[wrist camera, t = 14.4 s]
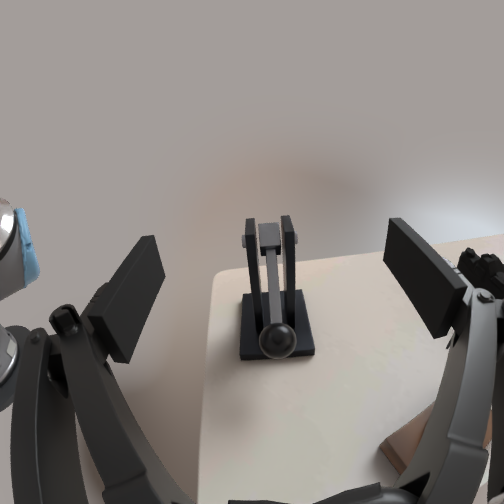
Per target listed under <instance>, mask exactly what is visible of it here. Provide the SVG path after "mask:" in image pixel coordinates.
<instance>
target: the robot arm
mask: <svg viewBox="0 0 504 504" xmlns="http://www.w3.org/2000/svg"><path fill="white" fill-rule="evenodd" d="M383 261H384V262H385V264H386V265H387V267H388V268H389V269H390V271H391V272H392V274H393V275H394V277H395V278H396V280H397V281H398V283H399V284H400V286H401V287H402V288H403V290H404V292H405V293H406V295H407V296H408V298H409V299H410V301H411V302H412V304H413V305H414V307H415V309H416V310H417V312H418V313H419V315H420V317H421V318H422V320H423V322H424V323H425V325H426V327H427V328H428V330H429V332H430V333H431V335H432V337H433V339H436V338H440V337H443V336H446V335H447V333H448V331H449V329H450V327H451V326H452V327H453V329H454V330H455V332H454V334H453V336H452V338H451V339H450V341H449V343H448V345H447V347H446V349H448V348H449V346H450V349H449V353H448V358H447V362H446V366H445V370H444V374H443V377H442V381H441V385H440V388H439V391H438V394H437V398H436V401H435V404H434V407H433V410H432V412H431V415H430V418H429V421H428V423H427V426H426V428H425V431H424V433H423V436H422V438H421V440H420V443H419V445H418V447H417V449H416V452H415V454H414V456H413V458H412V460H411V462H410V464H409V466H408V467H407V469H406V470H405V471H404V472H403V473H402V474H401V476H400V477H399V479H398V480H397V481H396V483H395V485H394V486H393V487H381V485H380V482H378V483H375V484H371V485H368V486H364V487H360V488H355V489H351V490H347V491H344V492H341V493H339V494H337V495H334V496H332V497H329V498H327V499H324V500H322V501H319V502H316V503H313V504H472V503H473V501H474V498H475V496H476V493H477V491H478V488H479V486H480V483H481V480H482V477H483V474H484V471H485V468H486V465H487V461H488V456H489V454H488V450H486V449H484V448H483V442H484V438H485V434H486V430H487V425H488V420H489V415H490V410H491V404H492V446H491V459H490V469H489V478H488V492H487V502H488V504H504V299H503V300H500V299H495V297H494V296H493V295H492V294H491V293H490V292H489V291H487V290H485V289H482V288H476V289H475V288H474V287H473V286H472V284H471V283H470V282H469V281H468V280H467V279H466V278H465V277H464V275H463V274H461V272H460V271H459V270H458V269H456V267H455V266H454V265H453V264H452V263H451V262H450V261H449V260H447V259H445V258H444V257H441V256H440V255H439V254H438V253H437V252H436V251H435V250H434V249H433V248H432V247H431V246H430V245H429V244H428V243H427V242H426V241H425V240H424V239H423V238H422V237H421V236H420V235H419V234H417V232H415V231H414V230H413V229H412V228H411V227H410V226H409V225H408V224H407V223H406V222H405V221H404V220H402V219H401V218H390V219H389V225H388V233H387V239H386V246H385V252H384V257H383ZM39 273H40V269H39V265H38V261H37V258H36V255H35V251H34V247H33V243H32V240H31V236H30V232H29V228H28V224H27V220H26V215H25V212H24V210H23V209H22V208H19V209H14V211H13V209H12V207H11V205H10V204H9V203H8V201H6V200H4V199H2V198H0V301H1V300H3V299H4V298H6V297H8V296H10V295H12V294H13V293H15V292H17V291H19V290H21V289H23V288H26V286H27V285H28V284H30V283H31V282H33V281H35V280H36V279H37V278H38V276H39ZM164 279H165V273H164V269H163V266H162V262H161V259H160V255H159V252H158V248H157V245H156V241H155V237H154V235H150V236H142V237H141V238H140V240H139V241H138V242H137V244H136V245H135V246H134V247H133V249H132V250H131V252H130V253H129V255H128V256H127V257H126V258H125V260H124V261H123V262H122V264H121V265H120V267H119V268H118V269H117V271H116V272H115V274H114V275H113V277H112V278H111V280H110V281H109V282H108V283H105V284H104V285H102V286H101V287H100V288H99V289H98V290H97V291H96V293H95V294H94V297H92V299H91V300H90V303H88V305H87V306H86V308H85V310H84V311H83V312H82V314H81V315H80V317H79V315H78V313H77V311H76V309H75V307H74V306H73V305H71V304H65V305H63V306H60V307H59V308H57V309H56V310H54V311H53V312H52V314H51V315H50V317H49V322H50V323H51V325H52V327H53V329H54V330H55V332H56V333H57V334H55V335H50V336H49V335H48V334H47V332H46V331H45V330H44V328H36V329H34V330H32V331H31V332H29V334H28V335H27V337H26V339H25V341H24V345H23V350H22V354H21V359H20V363H19V368H18V374H17V379H16V386H15V393H14V400H13V409H12V421H11V422H12V423H11V445H10V446H11V447H10V449H11V452H10V454H11V477H12V488H13V497H14V504H88V499H87V495H86V491H85V486H84V482H83V476H82V472H81V465H80V459H79V452H78V444H77V435H76V424H75V412H76V415H77V419H78V422H79V424H80V427H81V430H82V433H83V436H84V439H85V441H86V444H87V447H88V449H89V451H90V454H91V456H92V459H93V461H94V463H95V466H96V468H97V470H98V472H99V474H100V476H101V478H102V481H103V482H104V485H105V490H104V491H103V492H102V497H103V500H104V502H105V504H195V503H194V501H193V500H192V499H191V498H190V497H189V496H188V495H187V494H185V493H184V492H183V491H182V490H181V488H180V487H179V486H178V485H177V484H176V482H175V481H174V479H173V478H172V477H171V475H170V474H169V473H168V471H167V470H166V468H165V467H164V465H163V464H162V462H161V461H160V460H159V458H158V456H157V455H156V453H155V452H154V450H153V449H152V447H151V445H150V444H149V442H148V440H147V439H146V437H145V435H144V434H143V432H142V430H141V428H140V427H139V425H138V423H137V421H136V420H135V418H134V416H133V414H132V412H131V410H130V408H129V406H128V404H127V402H126V400H125V398H124V397H123V395H122V392H121V390H120V388H119V386H118V384H117V382H116V379H115V377H114V375H113V373H112V370H111V368H110V366H109V364H108V362H107V361H106V359H107V357H108V354H110V356H111V358H112V359H113V361H114V362H117V363H126V364H129V362H130V360H131V357H132V355H133V352H134V349H135V347H136V344H137V342H138V339H139V337H140V334H141V332H142V329H143V327H144V325H145V322H146V320H147V317H148V315H149V313H150V310H151V308H152V306H153V303H154V301H155V299H156V296H157V294H158V292H159V290H160V288H161V285H162V283H163V281H164ZM19 354H20V348H19V344H18V342H17V341H16V339H15V338H14V337H13V335H12V334H11V333H10V332H9V331H7V330H6V329H5V328H4V327H2V326H1V325H0V388H1V387H2V386H3V385H4V384H5V383H6V382H7V381H8V379H9V378H10V377H11V375H12V373H13V372H14V370H15V368H16V365H17V363H18V359H19ZM228 504H288V503H280V502H274V501H268V500H258V501H243V500H228Z"/></svg>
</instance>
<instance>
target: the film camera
mask: <svg viewBox="0 0 504 504" xmlns="http://www.w3.org/2000/svg"><path fill="white" fill-rule="evenodd" d="M457 269H458V270H459V271H460V272H461V274H463V275H464V277H465V278H466V279H467V280H468V281H469V282H470V283H471V284H472V286H473V287H474V288H475V289H476V288H482V289H485V290H487V291H489V292H490V293H491V294H492V295H493V296H494V297H495V299H500V300H503V299H504V264H502V262H501V261H500V259H499V258H498V257H497V256H495V255H494V254H491V255H489V254H488V253H487V254H483V255H481V258H480V257H479V256H478V255H477V254H475V251H474V250H473V249H471V248H467V249H466V250H465V251H464V252H462V253H461V256H460V257H459V262H458V265H457Z"/></svg>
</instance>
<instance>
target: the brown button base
mask: <svg viewBox="0 0 504 504" xmlns="http://www.w3.org/2000/svg"><path fill="white" fill-rule="evenodd" d="M435 401H436V400H435ZM435 401H434V402H433V403H432V404H431V405H430V406H428V407H427V408H426V409H425V410H424V411H422V412H421V413H420V414H419V415H417V416H416V417H415V418H414V419H412V420H411V421H410V422H408V423H407V424H406V425H404V426H403V427H402V428H400V429H399V430H397V431H396V432H395V433H393V434H392V435H390V436H389V437H387V438H386V439H385V440H384V441H383V442H382V443H381V444H380V446H379V447H380V448H381V450H382V451H383V452H384V454H385V455H386V456H387V458H388V459H389V460H390V462H391V463H392V464H393V466H394V467H395V469H396V470H397V471H398V473H399V474H400V475H401V474H402V473H403V472H404V471H405V470H406V469H407V467H408V466H409V464H410V462H411V460H412V458H413V456H414V454H415V452H416V449H417V447H418V445H419V443H420V440H421V438H422V436H423V433H424V431H425V428H426V426H427V423H428V421H429V418H430V415H431V412H432V410H433V407H434V404H435ZM491 439H492V410H490V415H489V420H488V425H487V430H486V434H485V438H484V442H483V448H485V447H486V446H487V444H488V443H489V442H490V441H491Z"/></svg>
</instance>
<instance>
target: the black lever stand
mask: <svg viewBox="0 0 504 504" xmlns="http://www.w3.org/2000/svg"><path fill="white" fill-rule="evenodd" d="M245 226H246V227H245V235H242V246H243V248H246V249H247V259H248V267H249V276H250V284H251V293H249V294H243V299H242V317H241V336H240V359H241V360H261V359H273V358H270V357H268V356H266V355H265V354H264V353H263V352H262V350H261V348H260V345H259V337H260V334H261V332H262V330H263V329H264V328H265V327H266V326H268V325H269V324H271V318H270V304H269V292H263V293H262V292H261V281H260V270H259V259H258V249H257V238H256V228H255V219H254V218H251V219H246V225H245ZM281 228H282V249H283V275H284V291H280V300H281V313H282V323H284V324H287V325H288V326H290V327H291V328H292V329H293V331H294V332H295V334H296V346H295V349H294V350H293V352H292V353H291V354H290V355H289V356H287V357H285V358H288V357H299V356H308V355H314V354H315V346H314V342H313V337H312V332H311V328H310V323H309V319H308V314H307V310H306V305H305V301H304V297H303V292H302V289H300V290H295V244H297V243H298V237H297V232H296V231H294V228H293V225H292V222H291V219H290V216H289V215H287V216H281Z"/></svg>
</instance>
